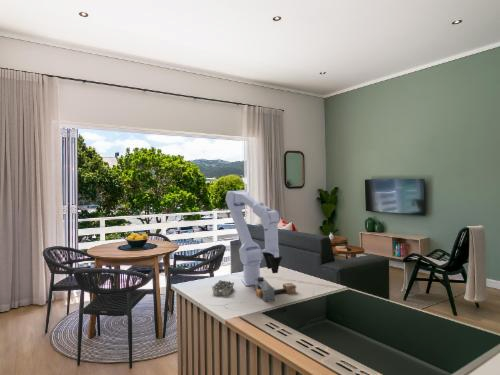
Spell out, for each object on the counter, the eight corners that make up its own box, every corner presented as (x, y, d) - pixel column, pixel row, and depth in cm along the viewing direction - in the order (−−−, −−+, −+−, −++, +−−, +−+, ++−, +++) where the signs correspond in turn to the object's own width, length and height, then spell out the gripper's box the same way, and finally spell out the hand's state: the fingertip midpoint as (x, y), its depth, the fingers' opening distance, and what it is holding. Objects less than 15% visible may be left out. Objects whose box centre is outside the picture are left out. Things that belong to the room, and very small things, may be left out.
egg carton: (227, 296, 142) (227, 287, 142) (210, 295, 144) (210, 286, 144) (235, 288, 152) (235, 279, 152) (219, 287, 154) (219, 278, 154)
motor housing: (255, 289, 150) (254, 276, 150) (263, 288, 151) (263, 275, 150) (264, 301, 134) (264, 287, 134) (274, 300, 135) (274, 286, 135)
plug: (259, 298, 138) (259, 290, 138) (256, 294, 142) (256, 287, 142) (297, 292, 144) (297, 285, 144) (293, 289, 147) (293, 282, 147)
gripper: (258, 236, 153) (259, 267, 153) (266, 242, 139) (268, 276, 139) (273, 235, 154) (274, 265, 155) (283, 241, 140) (284, 274, 141)
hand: (272, 270), depth 147 cm, fingers open, 7 cm apart
